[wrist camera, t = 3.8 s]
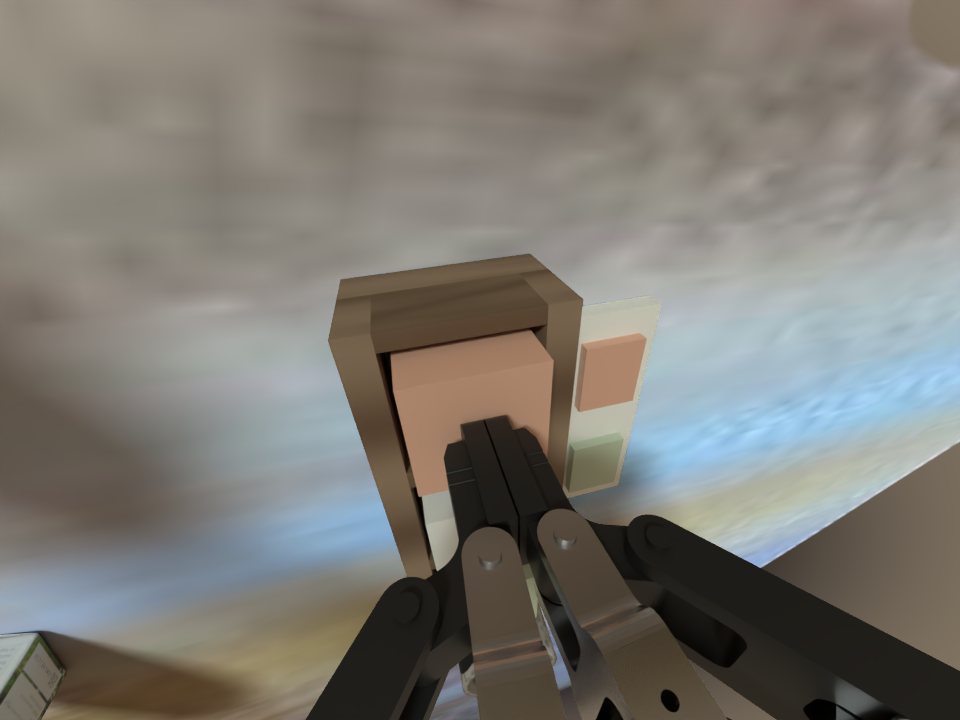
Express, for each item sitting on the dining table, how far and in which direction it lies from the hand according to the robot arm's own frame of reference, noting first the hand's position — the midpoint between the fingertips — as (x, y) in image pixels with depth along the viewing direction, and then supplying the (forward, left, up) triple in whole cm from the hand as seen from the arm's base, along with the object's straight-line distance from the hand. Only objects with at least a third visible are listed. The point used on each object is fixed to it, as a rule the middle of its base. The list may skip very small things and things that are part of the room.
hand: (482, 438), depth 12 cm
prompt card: (+6, +8, -7) cm, 12 cm away
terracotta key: (0, 0, -3) cm, 3 cm away
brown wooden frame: (+6, 0, -7) cm, 9 cm away
